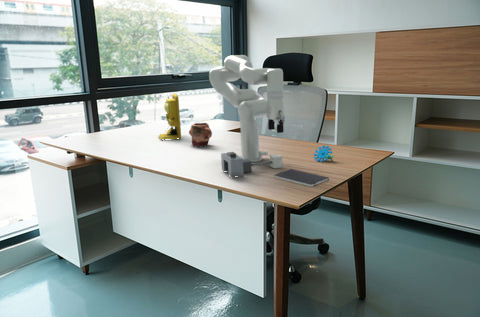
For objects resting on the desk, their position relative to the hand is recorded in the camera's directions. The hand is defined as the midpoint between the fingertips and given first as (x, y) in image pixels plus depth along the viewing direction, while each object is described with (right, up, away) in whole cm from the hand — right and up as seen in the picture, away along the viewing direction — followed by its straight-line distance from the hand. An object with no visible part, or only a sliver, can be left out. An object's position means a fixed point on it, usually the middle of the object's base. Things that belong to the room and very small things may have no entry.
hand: (275, 130), depth 189 cm
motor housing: (-21, -20, -3) cm, 29 cm away
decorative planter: (-41, -5, +58) cm, 72 cm away
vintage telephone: (-67, +1, +87) cm, 110 cm away
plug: (-8, -18, +2) cm, 20 cm away
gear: (+26, -15, +14) cm, 33 cm away
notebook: (+10, -23, -14) cm, 28 cm away
